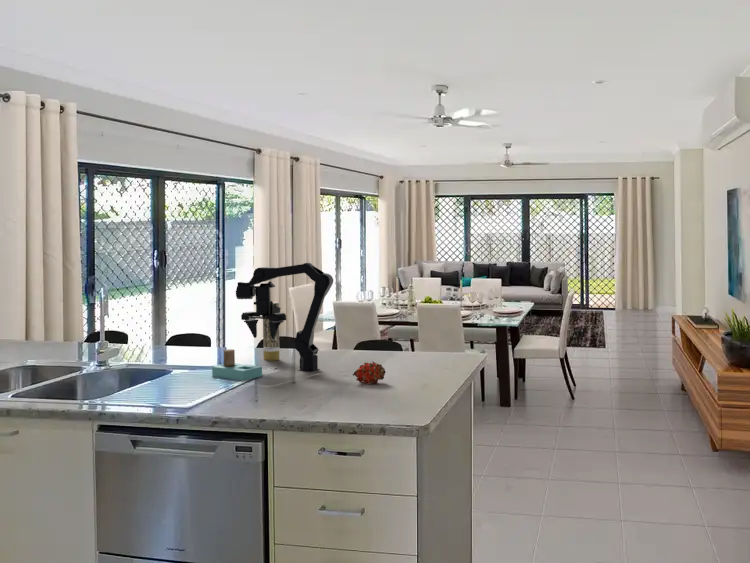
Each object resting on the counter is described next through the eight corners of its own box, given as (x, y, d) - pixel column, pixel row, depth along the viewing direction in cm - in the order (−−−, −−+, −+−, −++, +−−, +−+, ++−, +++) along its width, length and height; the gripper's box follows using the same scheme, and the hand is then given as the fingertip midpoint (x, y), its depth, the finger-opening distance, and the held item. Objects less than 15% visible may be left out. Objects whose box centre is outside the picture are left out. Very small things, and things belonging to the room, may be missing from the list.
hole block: (262, 377, 283) (261, 366, 282) (243, 381, 274) (243, 370, 274) (231, 373, 291) (231, 362, 291) (212, 377, 283) (212, 366, 283)
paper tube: (276, 361, 317) (275, 302, 316) (261, 361, 319) (260, 302, 317) (281, 358, 324) (280, 301, 323) (266, 358, 325) (265, 301, 324)
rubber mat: (281, 371, 294) (281, 370, 293) (264, 375, 285) (264, 374, 285) (262, 369, 299) (262, 368, 299) (245, 373, 291) (245, 372, 291)
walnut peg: (237, 375, 286) (236, 349, 285) (229, 377, 282) (229, 351, 282) (229, 374, 288) (229, 349, 287) (222, 376, 284) (221, 350, 284)
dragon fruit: (388, 387, 270) (355, 393, 269) (384, 370, 276) (352, 376, 275) (387, 371, 265) (353, 377, 263) (383, 354, 271) (350, 360, 270)
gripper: (294, 297, 298) (295, 336, 299) (258, 296, 308) (259, 334, 309) (276, 300, 289) (277, 340, 290) (239, 299, 298) (241, 338, 299)
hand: (264, 338), depth 297 cm, fingers open, 9 cm apart
